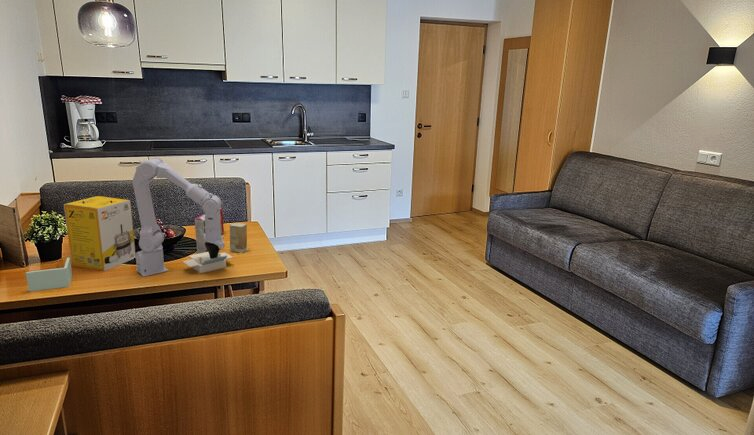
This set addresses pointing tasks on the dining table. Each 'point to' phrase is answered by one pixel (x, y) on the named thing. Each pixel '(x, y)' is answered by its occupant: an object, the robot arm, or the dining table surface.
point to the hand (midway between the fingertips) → (214, 260)
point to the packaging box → (100, 232)
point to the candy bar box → (200, 234)
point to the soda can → (221, 220)
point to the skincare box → (238, 237)
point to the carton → (200, 258)
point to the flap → (214, 260)
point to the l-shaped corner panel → (50, 278)
